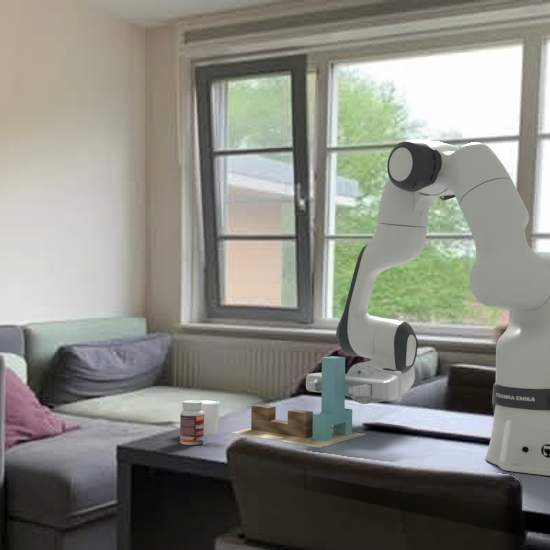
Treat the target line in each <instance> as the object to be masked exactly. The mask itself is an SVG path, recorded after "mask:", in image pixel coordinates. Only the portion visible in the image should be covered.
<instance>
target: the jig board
mask: <svg viewBox="0 0 550 550" xmlns="http://www.w3.org/2000/svg"><path fill="white" fill-rule="evenodd" d="M276 408H277V406H274V405H268V404H260V403H259V404H254V405H253V404H252V405H251V408H250V409H251V412H250V413H251V414H250V415H251V417H250V418H251V419H250V420H251V423H250V428H243V429H241V430H236V431H231V433H232V434H235V435H236V434H237V435H242V436H248V437H255V438H259V439H266V440H271V441H272V440H273V441H277V442H284V443H290V444H295V445H301V446H306V447H312V448H318V449H319V448H320V449H321V448H325V447H328V446H331V445H335V444H339V443H341V442H345V441H349V440H352V439H355V438H359V437H363V436H366V435H367V434H366V433H363V432H362V433H361V432H356V431H355V432H354V431H352V434H349V435H339V434H333V428H332V439H331V440H328V441H321V440H314V439H313V414H314V411H311V410H303V409H297V408H294V409H289V410H287V420H280V419H276V416H277V413H276V411H277V409H276Z"/></svg>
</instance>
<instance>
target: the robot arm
mask: <svg viewBox="0 0 550 550" xmlns="http://www.w3.org/2000/svg"><path fill="white" fill-rule="evenodd" d="M386 164H387V165H386V167H387V168H386V169H387V171H386V172H387V175H388V179H387V181H386V182H385V184H384V187H383V190H382V193H381V197H380V200H379V201H380V202H379V206H378V210H377V211H378V213H377V220H376V225H375V226H376V227H375V231H374V234H373V236H372V238H371V240H370V242H369V243H368V244H365V245H364V246H363V247H362V248H361V250H360V252H359V253H358V254H359V255H358V256H357V260H356V263H355V267H354V271H353V275H352V278H351V281H350V286H349V289H348V294H347V298H346V301H345V302H346V303H345V305H344V306H345V307H344V310H343V312H342V315H341V317H340V319H339V321H338V324H337V328H336V331H335V339H336V342H337V344H338V346H339V347H340V348H339V349H341V351H342V352H343V353H344V354H345V355H347V356H351V357H360V358H367V359H371V360H370V361H365V362H364V361H363V362H358V363H355V364H353V365H352V366H351V367H350V368H349V369H348V371H347V373H345V397H346V396H348V397H350V398H351V399H352V400H353V401H354V402H356V403H358V404H361V405H368V404H372V403H373V404H376V403H381V402H383V403H385V402H386V403H387V402H388V403H399V402H401V401H402V400H403V399H402V397H403V394H405V393H406V392H408V391H409V390H410V389H411V388H412V386H413V384H414V383H415V378H416V371H415V368H414V364H415V362H416V358H417V354H418V347H419V343H418V338H417V334H416V332H415V330H414V328H413V327H412V325H411V324H410V323H409V322H408V321H402V320H398V319H393V318H387V317H381V316H375V315H371V314H370V313H369V312H368V311H369V306H370V301H371V297H372V293H373V290H374V287H375V284H376V283H375V282H376V281H377V278H378V276H379V275H380V274H381V273H383V272H384V271H386V270H390V269H393V268H395V267H400V266H403V265H407V264H409V263H411V262H413V261H414V260H416V259H417V258H418V257H419V256H420V255H421V254H422V252H423V250H424V248H425V245H426V241H427V233H428V225H429V213H430V208H431V206H432V203H433V202H434V201H435V200H437V199H438V198H439V199H440V200H442V201H447V200H450V199H453V198H456V201H457V203H458V205H459V208H460V210H461V213H462V215H463V216H464V219H465V221H466V224H467V227H468V229H469V230H470V233H471V236H472V238H473V242H474V243H473V244H474V247H475V258H476V259H475V261H474V263H473V265H472V266H471V269H470V273H469V286H470V287H469V288H470V291H471V293H472V295H473V297H474V298H475V300H477V302H478V303H480V304H481V305H484V306H486V307H489V308H491V309H496V310H499V311H503V312H504V311H506V312H507V311H512V314H511V318H510V320H509V324H508V325H507V328H506V329H505V331H504V332H503V333H502V335H501V336H499V337H498V340H497V342H496V345H495V382H494V383H493V385H492V399H491V402H492V403H491V404H492V413H493V423H492V430H491V435H490V439H489V440H490V441H489V444H488V447H487V448H488V449H487V451H486V454H485V460H486V461H488V463H491V464H494V465H496V466H498V467H499V468H500V469H501V470H503V471H506V472H508V471H509V472H515V473H524V474H531V475H539V476H549V477H550V252H549V251H534V250H533V249H532V248H531V247H530V245H529V244H528V240H527V236H526V230H525V229H526V228H527V226H528V224H529V220H530V215H529V211H528V209H527V207H526V205H525V203H524V201H523V199H522V198H521V195H520V193H519V192H518V189H517V187H516V185H515V184H514V181H513V178H511V176H510V173H509V172H508V171H507V169H506V167H505V165H504V164H503V163H502V161H501V160H500V158H499V157H498V156H497V155H496V153H495V152H494V151H493V150H492V148H491V147H489V145H487V144H485V143H481V142H470V143H467V144H464V145H462V146H461V145H460V146H457V145H453V144H450V143H444V142H442V141H435V140H421V139H409V140H404V141H402V142H399V143H397V144H396V145H395V146H394V147H393V148H392V150H391V151H390V153H389V155H388V158H387V163H386ZM305 379H306V380H305V387H306V390H307V391H308V392H314V393H321V394H322V372H314V373H307V375H306V376H305Z"/></svg>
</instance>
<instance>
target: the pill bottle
mask: <svg viewBox="0 0 550 550" xmlns="http://www.w3.org/2000/svg"><path fill="white" fill-rule="evenodd" d="M198 400H199V399H188V400H187V399H186V400H183V401H182V404H181V405H182V407H181V408H182V410H181V411H180V414H179V418H180V419H179V428H180V431H179V441H180V444H182V445H187V446H198V445H202V444H204V440H202V439H197V438H203V437H205V436H204V412H203V411H202V410H201V409H202V401H198Z"/></svg>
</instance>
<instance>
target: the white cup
mask: <svg viewBox="0 0 550 550" xmlns="http://www.w3.org/2000/svg"><path fill="white" fill-rule="evenodd" d="M197 400H198V401H202V409H201V410H202V411H203V412H204V436H203V437H206V436H210V435H215V434H218V433H219V431H218V430H219V429H218V428H219V423H220V422H219V421H220V410H221V401H219V400H216V399H197Z"/></svg>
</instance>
